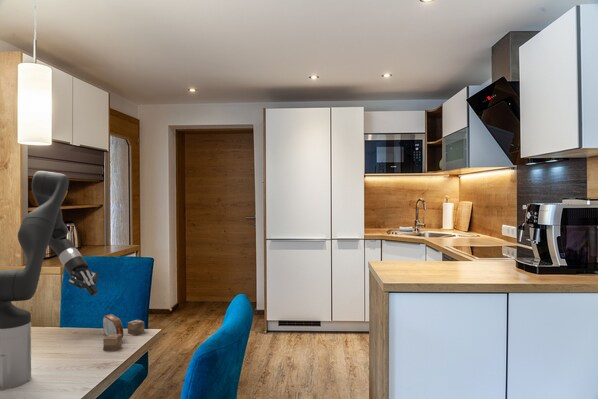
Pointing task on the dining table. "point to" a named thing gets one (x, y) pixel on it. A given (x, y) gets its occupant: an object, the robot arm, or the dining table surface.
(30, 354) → the robot arm
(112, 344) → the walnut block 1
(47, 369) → the dining table surface
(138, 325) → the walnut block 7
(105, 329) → the tin
